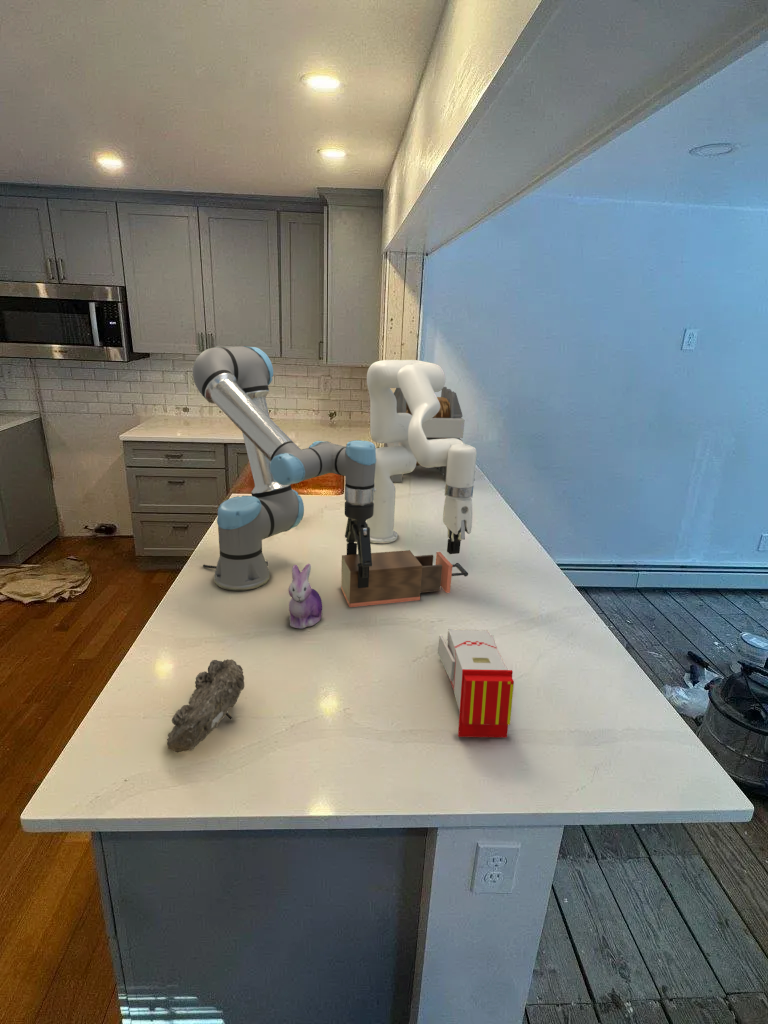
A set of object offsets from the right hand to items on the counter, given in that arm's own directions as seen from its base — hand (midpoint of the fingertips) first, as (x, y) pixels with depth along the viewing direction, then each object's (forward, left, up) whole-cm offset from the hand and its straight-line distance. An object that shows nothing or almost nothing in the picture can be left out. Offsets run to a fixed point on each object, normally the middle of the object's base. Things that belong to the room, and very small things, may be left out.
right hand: (453, 552), depth 159 cm
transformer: (-36, +114, -11) cm, 120 cm away
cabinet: (-18, -11, -11) cm, 24 cm away
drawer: (-7, -4, -10) cm, 13 cm away
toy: (+12, -45, -11) cm, 48 cm away
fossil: (-33, -70, -11) cm, 78 cm away
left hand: (-23, -15, -5) cm, 28 cm away
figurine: (-31, -31, -11) cm, 45 cm away
